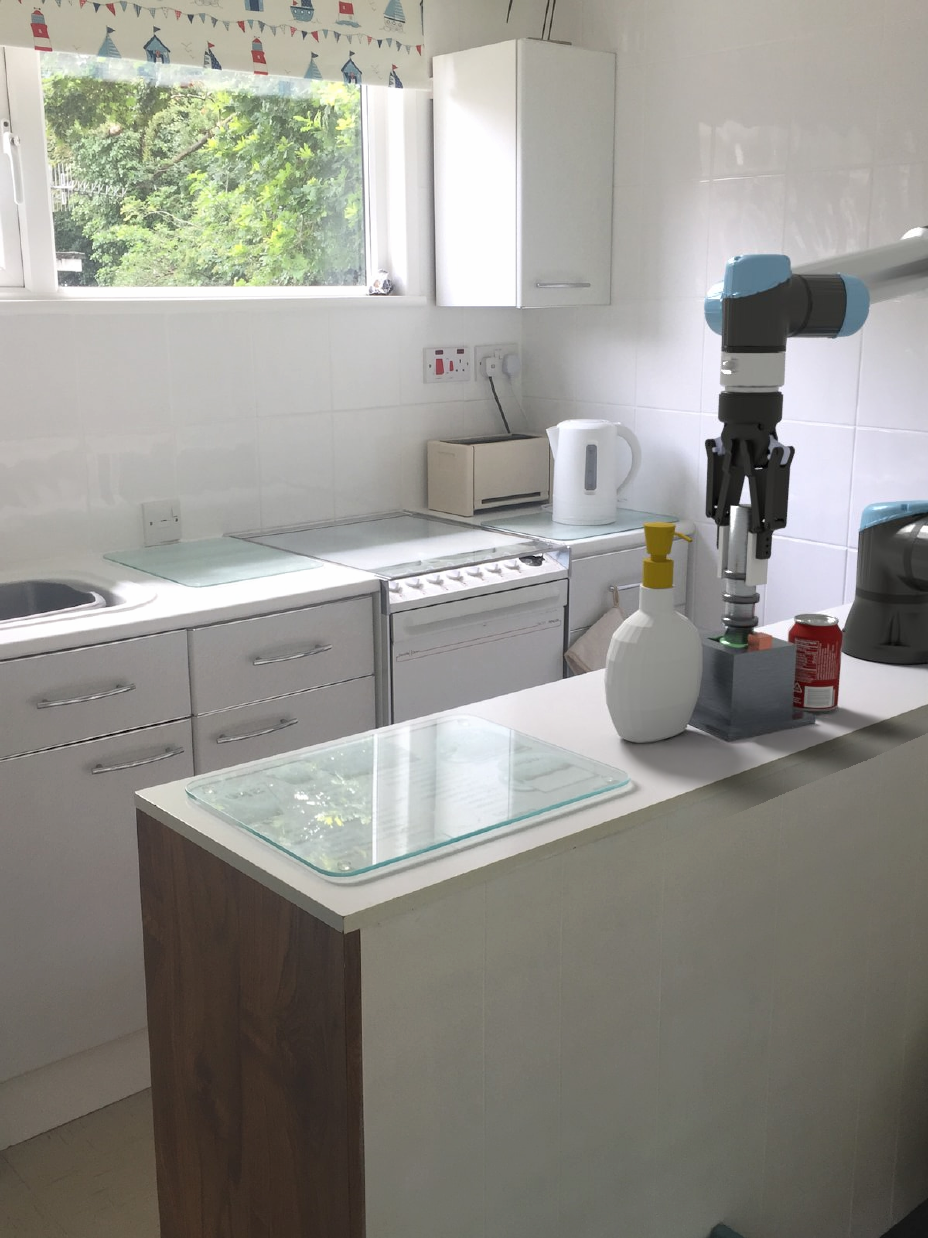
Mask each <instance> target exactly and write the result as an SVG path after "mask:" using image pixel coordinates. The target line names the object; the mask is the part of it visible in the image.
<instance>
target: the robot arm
mask: <svg viewBox="0 0 928 1238" xmlns="http://www.w3.org/2000/svg"><path fill="white" fill-rule="evenodd" d="M791 262H792V261H791V259H790V257H789V256H788V255H786V254H778V253H777V254H775V253H773V254H772V253H771V254H770V253H769V254H768V253H762V254H761V253H758V254H757V253H756V254H755V253H754V254H740V255H739V254H738V255H734V256H732V257H730V259H728V261H727V263H726V265H725V270H724V271H725V272H724V279H723V280H722V279H721V280H719V281H718V282H716V283H715V284H713V285H712V287H711V288H710V289H709V291H708V292H707V294H706V297H705V300H704V303H703V305H704V306H703V311H704V313H703V314H704V318H705V321H706V324H707V325H708V327H709V328H710V330H711V331H712V332H714V333H715V334H716V335H719V336H721V347H720V349H721V350H720V351H721V353H720V369H719V370H720V371H719V372H720V373H719V384H720V386H721V387H723V388H724V390H721V391H720V393H719V394H718V408H717V410H718V411H717V419H718V421H719V422H721V423H723V428H722V431H720V432H721V433H720V436H718V437H716V438H706V439H705V441H704V447H705V451H706V452H705V454H706V456H707V458H706V460H707V462H706V463H707V464H706V488H705V489H706V492H705V513H704V514H705V516H706V518H708V519H709V518H710V519H712V520H713V521H714V523H715V524H716V550H718V553H717V554H718V555H717V570H716V571H717V575H716V577H717V578H718V579H726V578H725V577H723V569H724V568H727V566H728V546H729V525H730V505H733V504H741V503H740V502H741V498H742V493H743V488H744V483H745V479H746V478H747V479H748V489H749V490H748V491H749V498H750V504H751V510H752V519H753V528H754V529H749V532H748V548H747V568H746V585H747V586H756V587H757V586H762V585H767V583H768V571H769V570H768V569H769V559H771V557H772V543H773V534H774V532H775V531H777V530H781V529H785V528H786V527H787V523H788V512H789V511H788V507H789V493H790V478H791V477H790V476H791V466H792V462H793V459H794V457H795V454H796V449H795V447H794V446H793V445H784V444H783V443H781V442H780V441H779V436H778V432H777V425H778V423H780V422H781V421H782V419H783V410H784V409H783V408H784V407H783V405H784V394H783V392H782V391H780V390H779V389H780V387H781V388H782V387H783V386H785V381H786V380H785V378H786V377H785V375H786V357H787V356H786V355H787V354H786V352H787V340H788V339H791V338H796V339H797V338H806V339H807V338H809V339H814V338H816V339H819V338H822V339H823V338H827V339H833V340H834V339H837V338H843V337H844V338H846V337H850V336H852V335H854V334H856V333H858V332H859V331H860V330H861V329H862V328H863V326H864V325H865V323H866V321H867V319H868V317H869V313H870V305H874V304H877V303H878V304H879V303H881V302H886V301H889V300H893V299H897V298H899V297H903V296H908V295H910V296H912V297H915V298H919V299H920V298H928V225H923V226H920V227H917V228H913V229H910V230H909V231H907V232H906V233H904V234H903V236H901V237H900V239H898V240H894V241H891V242H887V243H882V244H878V245H874V246H870V247H866V248H861V249H858V250H854V251H850V252H846V253H842V254H841V253H840V254H837V255H834V256H828V257H826V258H825V257H824V258H822V259H817V260H814V261H808V262H805V263H801V264H797V265H796V264H795V265H794V266H792V265H791ZM857 540H858V542H857V543H858V544H857V558H856V560H857V561H856V574H855V575H856V576H855V591H854V592H855V593H854V600H853V602H852V606H851V607H850V610H849V613H848V614H847V616H846V617H847V618H846V620H845V623H844V627H843V628H842V629H841V631H842V633H843V640H842V652H843V653H844V654H847V655H849V656H851V657H855V658H859V659H862V660H868V661H873V662H880V663H888V664H902V665H904V664H905V665H906V664H907V665H908V664H909V665H910V664H913V665H915V664H925V663H926V664H927V663H928V499H921V500H920V499H919V500H917V499H916V500H897V501H896V500H895V501H885V502H884V501H883V502H875V503H870V504H868V505H867V506H865V508H864V509H863V510H862V513H861V519H860V525H859V528H858V539H857Z"/></svg>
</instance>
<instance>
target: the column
mask: <svg viewBox="0 0 928 1238" xmlns="http://www.w3.org/2000/svg"><path fill="white" fill-rule="evenodd" d="M749 529H754V528H753V519H752V510H751V503H739V504H733V505H730V525H729V546H728V566H727V568H724V569H723V577H725V578H724V579H726V587H725V588H726V590H725V591H722V592H721V601H722V602H724V603H725V607H724V609H725V610H724V611H725V612H724V614H721V615H720V624H721V625H723V627H724V628H723V630H724V637H723V638H721V639H720V643H722V644H725V645H728V646H731V647H734V648H741V647H747V646H748V638H749V634H752V633H754V631H755V628H756V627H758V626H759V616H757V615H756V604H758V603H760V600H761V594H760V593H759V592H757V585H756V586H747V585H746V568H747V548H748V532H749Z"/></svg>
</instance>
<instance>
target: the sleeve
mask: <svg viewBox="0 0 928 1238" xmlns="http://www.w3.org/2000/svg"><path fill="white" fill-rule="evenodd" d="M699 636H700V640H701V644H702V661H703V671H702V678H701V684H700V691H699V696H698V699H697V702H696V704H695V707H694V710H693V713H692V715H691V718H690V720H689V722H688V725H691V726H693V727H695V728H697V729H700V730H702V731H704V732H706V733H708V734H711V735H713V736H715V737H717V738H720V739H722V740H724V741H727V742H732V741H736V740H741V739H745V738H751V737H755V736H761V735H765V734H770V733H776V732H780V731H784V730H790V729H793V728H799V727H804V726H810V725H815V724H816V717H817V716H816V714H810V713H807V712H805V711H802V710H799V709H797V708H794V707H793V696H794V680H795V665H796V649H797V644H794V643H791V642H787V641H788V640H785V639H784V640H783V639H780V638H777V637H774V636H773V635H771V634H768V633H766V632H765V633H764V632H761V631H759V632H758V631H755V630H754V633H752V634H749V638H748V646H747V647H741V648H734V647H731V646H728V645H725V644H722V643H720V639H721V638H723V637H724V629H722V630H716V631H711V632H709V631H708V632H705V633H699Z"/></svg>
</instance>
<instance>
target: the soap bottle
mask: <svg viewBox="0 0 928 1238" xmlns="http://www.w3.org/2000/svg"><path fill="white" fill-rule="evenodd" d="M676 527H677V525H676V523H672V522H664V521H653V522H652V521H651V522H644V523H643V531H644V532H643V533H644V539H645V547H646V548H645V549H646V554H648V555H650V557H646V558H644V559H643V560H642V583H640V584H639V596H638V597H639V602H638V603H639V604H638V605H639V607H638V610H636V611H635V612H634V613H632V614H631V615H630V616H629V617H627V618H626V619H625V620H624V621H623V622H622V623H621V624H620V625H619V627H618V628H617V629H616V630H615V631H614V632H613V634H612V636H611V639H610V643H609V647H608V651H607V653H606V659H605V660H606V661H605V672H604V692H605V702H606V706H607V708H608V709H607V710H608V712H609V716H610V718H611V721H612V724H613V727H614V728H615V730H616V732H617V735H618V736H619V737H620V738H622V739H624V740H626V741H627V742H632V743H637V744H645V743H646V744H647V743H653V742H657V741H658V742H659V741H662V740H665V739H668V738H672V737H675V736H678V735H679V734H681V733H683V732H684V731H685V730H686V729H687V727H688V725H689V724H688V722H689V720H690V718H691V715H692V713H693V710H694V707H695V704H696V702H697V699H698V696H699V691H700V684H701V678H702V671H703V661H702V644H701V640H700V636H699V634H700V633H699V629H698V628H697V627H696V626H695V625H694V624H693V623H692V621H691V620H690V619H689V618H688V617H686V616H685V615H683V614H681V613H680V612H678V611H676V610H675V599H676V598H675V597H676V585H674V567H675V566H674V564H675V563H674V561H675V560H674V559H673V558H669V557H667V555H671V552H672V546H673V542H674V537H675V536H676V537H679V538H681V539H682V540H684V541H686V542H688V543H692V542H693V539H692V538H691V537H689V536H687V535H686V534H684V533H682V532H678V531H676Z"/></svg>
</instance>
